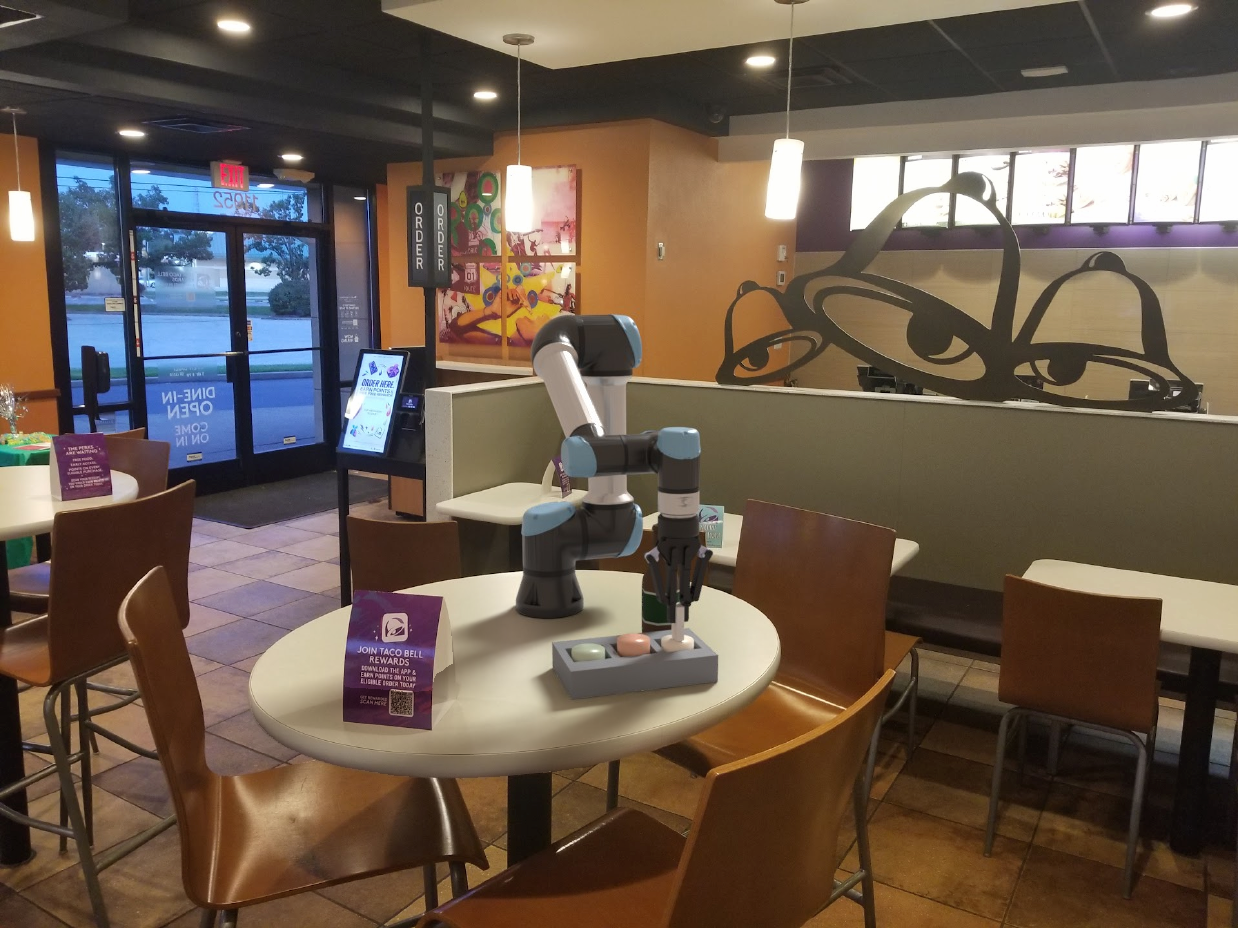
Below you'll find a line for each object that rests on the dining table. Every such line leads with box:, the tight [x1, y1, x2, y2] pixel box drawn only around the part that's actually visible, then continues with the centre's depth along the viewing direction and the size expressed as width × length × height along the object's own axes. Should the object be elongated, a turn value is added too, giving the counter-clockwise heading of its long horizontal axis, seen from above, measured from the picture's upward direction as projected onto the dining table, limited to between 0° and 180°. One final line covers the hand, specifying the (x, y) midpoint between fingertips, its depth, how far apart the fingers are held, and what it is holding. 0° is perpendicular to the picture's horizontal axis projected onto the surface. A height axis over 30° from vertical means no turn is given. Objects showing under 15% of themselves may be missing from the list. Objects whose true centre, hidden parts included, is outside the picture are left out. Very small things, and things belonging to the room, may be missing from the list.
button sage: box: [572, 644, 605, 662], centre depth 169 cm, size 6×6×4 cm
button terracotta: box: [617, 632, 650, 657], centre depth 172 cm, size 6×6×4 cm
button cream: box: [661, 635, 694, 652], centre depth 174 cm, size 6×6×4 cm
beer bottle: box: [641, 522, 680, 633], centre depth 188 cm, size 8×8×24 cm
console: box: [551, 627, 719, 700], centre depth 172 cm, size 15×27×5 cm, turn 106°
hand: (677, 638), depth 174 cm, fingers closed
